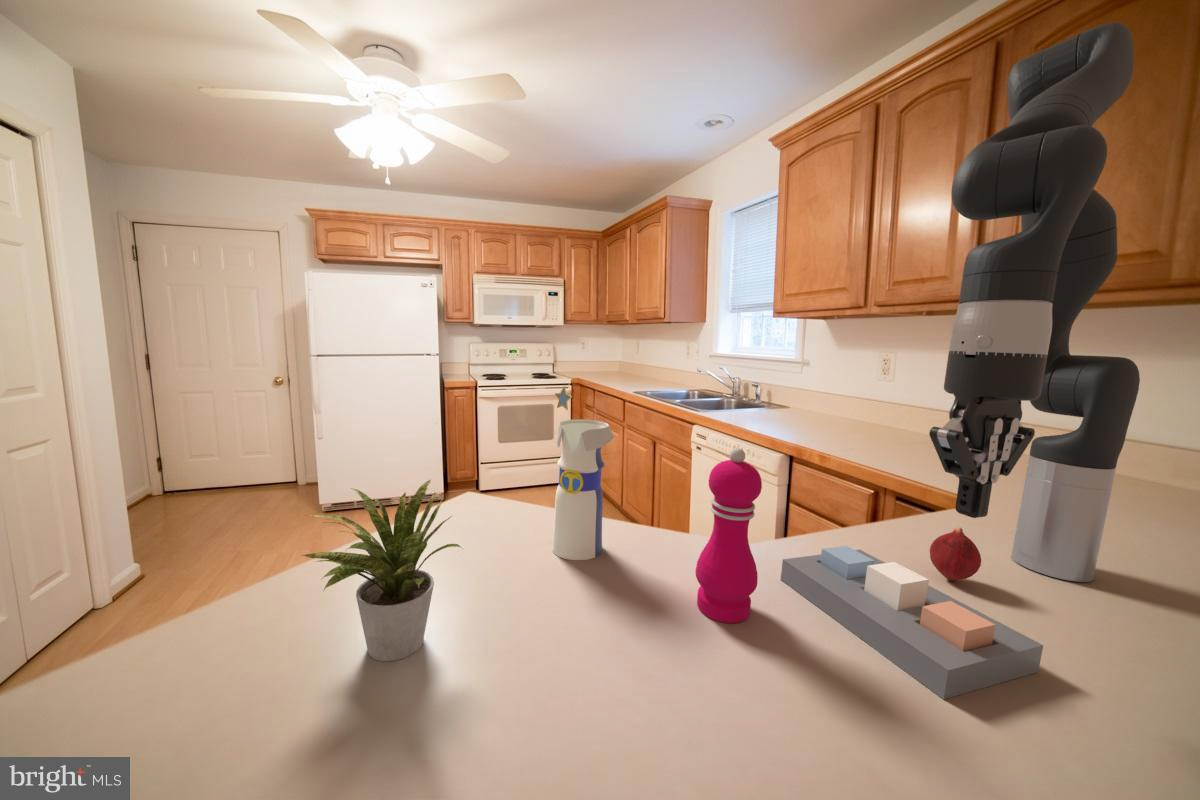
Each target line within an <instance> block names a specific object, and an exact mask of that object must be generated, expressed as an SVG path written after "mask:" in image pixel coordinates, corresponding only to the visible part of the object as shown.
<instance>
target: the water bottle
mask: <svg viewBox="0 0 1200 800" xmlns="http://www.w3.org/2000/svg"><path fill="white" fill-rule="evenodd" d="M554 395H555V397H556V398H557V399H558V401H557V405H556V409H559V408H562V407H563V408H564V409H565V410H566V411H568V410H569V408H568V401H569V400H570V399H572V398H573V395H570V394H568V393H567V390H566V386H565V385H564V386H563V387H562V389H561V390H560V392H555V393H554ZM614 436H615V435H614V434H613V431H612V429H611V427H610V424H609V423H607V422H604V421H601V420H600V421H599V420H595V419H594V420H593V419H580V418H579V419H569V420H568V419H567V420H564V421H560V422H559V423H558V427H557V433H556V443H557V447H558V448H560V446H561V443H562V449H561V450H562V451H561V455H560V458H559V459H558V460H557V466H558V467H559V474H558V485H557V487H556V490H555V491H556V492H555V499H554V500H555V501H554V519H553V529H552V530H553V531H552V539H551V540H552V541H551V552H552V553H553V554H554V555H556V556H557V557H559V558H562V559H565V560H568V561H587V560H593V559H594V558H597V557H598V556H599V555H601V554H602V551H603V542H602V541H603V510H604V509H603V506H604V505H603V503H604V501H603V500H604V495H603V494H604V493H603V488H602V483H601V482H602V469H604V468H605V462H604V461H603V459H602V453H601V452H602V447H604V446H607V445H608V444H609V443H610V442H611V441H612V440H614V438H615V437H614Z"/></svg>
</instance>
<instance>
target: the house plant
mask: <svg viewBox="0 0 1200 800" xmlns="http://www.w3.org/2000/svg"><path fill="white" fill-rule="evenodd" d="M431 481H432V479H428V480H427V481H425V482H424V483H422V485H420V487H419V488H418V489H417V490H416V492H415V493H414V495H413V496H412V497H411V499H410V500H409V502H408V503H407V505H406V502H407V501H406V500H407V499H406V492H404V493H403V494H402V495H401V497H400V500H399V504H398V506H397V508H396V511H395V514H394V521H393V522H394V524H393V531H392V526H391V522H390V519H389V514H388V511H387V508H386V507H385V505H384V504H383V503H382V502H381V501H380V500H378V499H376V498H371V497H369V495H367V494H366V493H364V492H362V491H360V490H359V489H356V488H353V487H350V489H351V490H353V491H354V492H355V493H357V494H358V496H359V497H360V498H361V499H362V500H363V502H364V503H363V504H362V503H361V506H362V507H363V508H364V509H365V510H366V511H367V512H368V515H369V517H370V519H371V522H372V524H373V525H374V527H375V529H376V531H377V533H378V536H379V538H380V540H381V543H382V545H381V543H380V542H379V541H378V540H377V539H376V538H375V536H373V534H371V533H370V532H369V531H368V530H367V529H365V527H363V526H362V525H360V524H358V523H357V522H355V521H354V520H352V519H349V518H347V517H344V516H342V515H341V516H340V515H335V514H334V515H333V514H307V515H306V514H305V515H304V516H305V517H306V516H307V517H318V518H319V517H320V518H328V519H335V520H338V521H342V522H344V523H341V522H337V521H326V522H325V521H324V522H323V524H327V523H328V524H329V523H330V524H331V523H332V524H338V525H341V526H345V527H346V528H348V529H350V530H352V531H353V532H351V531H348V530H339V533H351V534H354V536H355V537H357V538H358V539H360V540H361V541H359V542H355V543H353V544H351V545H350V546H349V547H347V548H346V550H345V552H343V551H341V552H340V551H322V552H321V551H320V552H314V553H307V554H303V555H301V557H306V558H310V559H320V560H315V561H314V562H316V563H317V562H320V563H321V562H327V563H328V562H329V563H334V564H337V565H338V566H336V567H334V568H332V569H330V570H329V571H328V572H327V573H326V574H324V575H323V576H322V578H321V579H320V581H322V579H324V578H326V577H329V576H332V577H330V579H329V580H327V583H326V584H325V586H324V589H323V590H322V592H324V591H325V589H326V588H329V587H331V586H333V585H335V584H337V583H339V582H342V581H343V580H345V579H347V578H350V577H351V576H354V575H359V576H361V577H362V578H365V579H366V580H364V581H363V582H362V583H361V584H360V585H359V587H358V588H357V589H356V594H355V598H356V602H357V606H358V611H359V616H360V620H361V621H360V622H361V626H362V629H363V634H364V635H363V636H364V639H365V645H366V648H367V653H368V656H370V658H372V659H373V660H375V661H376V660H377V661H379V662H394V661H398V660H402V659H405V658H407V657H409V656H412V655H413V654H415V653H416V652H417V651H418V650H419V649H420V648H421V646H423V643H424V638H425V634H426V633H425V632H426V627H427V623H428V616H429V612H430V606H431V601H432V597H433V591H434V585H435V581H434V577H433V576H432V575H431V574H430V573H429V572H426V571H425V570H421V569H420V568H421V567H422V566H423V564H424V563H425V562H426V561H427V560H428V559H429V558H430V557H431V556H432V555H435V554H436V553H437V552H440V551H442V550H444V549H446V548H451V547H452V548H453V547H458V548H461V549H462V550H464V549H463V547H462V546H461V545H459V544H458V543H448V544H445V545H443V546H441V547H438V548H437V549H435V550H433V551H432V552H430V553H429V554H428V555H427V556H426V557H425V558H424V559H423V561H422V562H421V563H420V564H419V566H418V568H417V564H418V562H419V560H420V557H421V556H422V554H423V553H424V551H425V549H426V548H427V546H428V541H429V539H430V538H431V537H433V536H434V534H435V533H436V532H437V531H438V530H440V528H441V527H442V525H443V524H444V523H446V522H447V521H448V520H450V519H451V517H453V516H454V514H452V515H451V516H449V517H447V518H446V519H445V520H443V521H441V523H439V524H438V526H437V525H436V527H435V528H434V529H433V530H432V531H431V532H430V533H428V535H427V532H428V530H429V529H430V527H431V525H432V524H433V523H434V520H435V519H436V517H437V514H438V513H439V509H440V508H441V505H442V504H443V499H444V496H443V497H442V499H441V500H440V501H439V503H438V505H437V506H436V508H435V509H434V510H433V512H432V513H431V515H430V518H429V519H428V521H427V523H426V524H425V521H426V519H427V517H428V515H429V513H430V511H431V508H432V506H433V503H434V498H435V495H436V491H434V492H433V494H432V496H431V497H430V499H429V501H428V503H427V504H426V505H425V509H424V511H423V513H422V515H421V518H420V520H419V522H418V525H417V526H416V529H415V524H416V519H417V517H418V513H419V510H420V507H421V505H422V502H423V500H424V498H425V495H426V492H427V490H429V487H428V486H429V484H430V483H431ZM373 500H374V501H375V502H376V503H377V504H378V506H379V509H380V512H381V514H382V515H380V514H379V511H378V509H377V506H376V504H375V503H374V501H373ZM345 522H346V523H347V524H350V525H352V526H353V527H355V529H356V530H357V532H358V533H357V532H355V531H354V530H353V529H352V528H351V527H350V526H348V525H346V524H345ZM424 524H425V527H424V528H423V526H424ZM422 528H423V530H422ZM426 535H427V536H426ZM425 536H426V537H425ZM348 549H358V550H363V551H366V552H367V554H364V553H362V554H361V553H355V552H346V551H347V550H348ZM364 573H365V574H367V575H369V576H371V577H369V576H367V575H365V574H364Z"/></svg>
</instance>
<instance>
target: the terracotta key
mask: <svg viewBox="0 0 1200 800" xmlns="http://www.w3.org/2000/svg"><path fill="white" fill-rule="evenodd" d="M920 625H921V626H923V627H924V628H926V629H928V630H929V631H931V632H933V633H934V634H936V635H938V636H939V637H941V638H942V639H944V640H946V641H947V642H949V643H951V644H952V645H954V646H955V647H957V648H959V649H960V650H962V651H964V652H967V651H971V650H975V649H979V648H984V647H988V646H992V642H993V636H994V630H995V624H993V623H991V622H990V621H988V620H986V619H984V618H982V617H980V616H978V615H976V614H974V613H973V612H971V611H969V610H967V609H965V608H963V607H961V606H959V605H957V604H956V603H954V602H952V601H948V602H942V603H937V604H932V605H927V606H922V612H921V619H920Z"/></svg>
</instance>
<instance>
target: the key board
mask: <svg viewBox="0 0 1200 800" xmlns="http://www.w3.org/2000/svg"><path fill="white" fill-rule="evenodd" d="M854 550H855V551H857V552H859V553H861V554H863V555H865V556H867V557H869V558H871V559H872V560H874V565H876V564H883V563H886V562H885V561H883V560H881V559H879V558H877V557H875V556H874V555H872V554H869V553H867V552H865V550H861V549H854ZM820 560H821V554H813V555H806V556H799V557H791V558H790V557H789V558H784V559H782V563H781V573H780V581H782V582H783V583H784V584H786V585H787V586H788V587H789V588H791V589H792V590H794V591H795V592H796V593H798V594H799V595H800V596H802V597H803V598H804V599H806V600H808V601H809V602H810V603H811V604H812V605H814V606H815V607H817V608H818V609H820V610H822V612H824V613H825V614H826V615H828V616H829V617H831V618H832V620H835V622H837V623H839V624H840V625H842V626H843V627H844V628H845V629H847V630H848V631H850V632H851V633H852V634H854V635H855V636H856V637H858V638H859V639H860V640H862V641H863V642H865V643H866V644H868V646H870V647H871V648H873V649H874V650H875V651H877V652H878V653H880V654H881V655H882V656H883V657H885V658H887V659H888V660H889V661H890V662H892V663H893V664H895V665H896V666H897V667H899V668H900V669H901V670H902V671H904V672H905V673H906V674H908V675H909V676H911V677H912V678H913V679H914V680H916V681H917V682H919V683H920V684H921V685H923V686H924V687H926V688H927V689H928V690H929V691H931V692H933V693H934V694H935V695H937V696H938V698H940V699H942V700H946V699H950V698H954V697H957V696H959V695H960V696H961V695H964V694H968V693H971V692H974V691H977V690H981V689H984V688H989V687H992V686H994V685H998V684H1002V683H1005V682H1008V681H1012V680H1015V679H1018V678H1022V677H1026V676H1029V675H1033V674H1037V673H1039V671H1040V670H1039V669H1040V664H1041V660H1042V654H1043V650H1044V645H1043V644H1042V643H1040V642H1038V641H1037V640H1034V639H1032V638H1030V637H1028V636H1026V635H1025V634H1023V633H1021V632H1019V631H1017V630H1016V629H1014V628H1011V627H1009V626H1007V625H1005V624H1003V623H1001V622H999V621H998V620H995V618H992V617H990V616H988V615H986V614H985V613H982V612H981V611H978V610H976V609H975V608H972V607H971V606H969V605H967V604H965V603H963V602H961V601H959V600H958V599H956V598H954V597H952V596H950V595H948V594H946V593H944V592H942V591H941V590H939V589H936V588H934V587H933V586H930V585H929V584H928V588H927V595H926V601H925V606H927V605H932V604H937V603H942V602H948V601H952V602H954V603H956V604H957V605H959V606H961V607H963V608H965V609H967V610H969V611H971V612H973V613H974V614H976V615H978V616H980V617H982V618H984V619H986V620H988V621H990V622H991V623H993V624H995V630H994V636H993V642H992V646H988V647H984V648H979V649H975V650H971V651H967V652H964V651H962V650H960V649H959V648H957V647H955V646H954V645H952V644H951V643H949V642H947V641H946V640H944V639H942V638H941V637H939V636H938V635H936V634H934V633H933V632H931V631H929V630H928V629H926V628H924V627H923V626H921V625H920V619H921V612H922V607H919V608H914V609H908V610H903V611H897V610H895V609H894V608H892V607H890V606H889V605H887V604H885V603H884V602H882V601H881V600H879V599H877V598H876V597H874V596H872V595H871V594H869V593H867V592H866V591H864V587H865V580H866V577H863V578H856V579H850V580H846V579H845V578H843V577H841V576H840V575H838V574H837V573H835V572H833V571H832V570H830V569H828V568H827V567H825V566H823V565H822V564H820Z"/></svg>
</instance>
